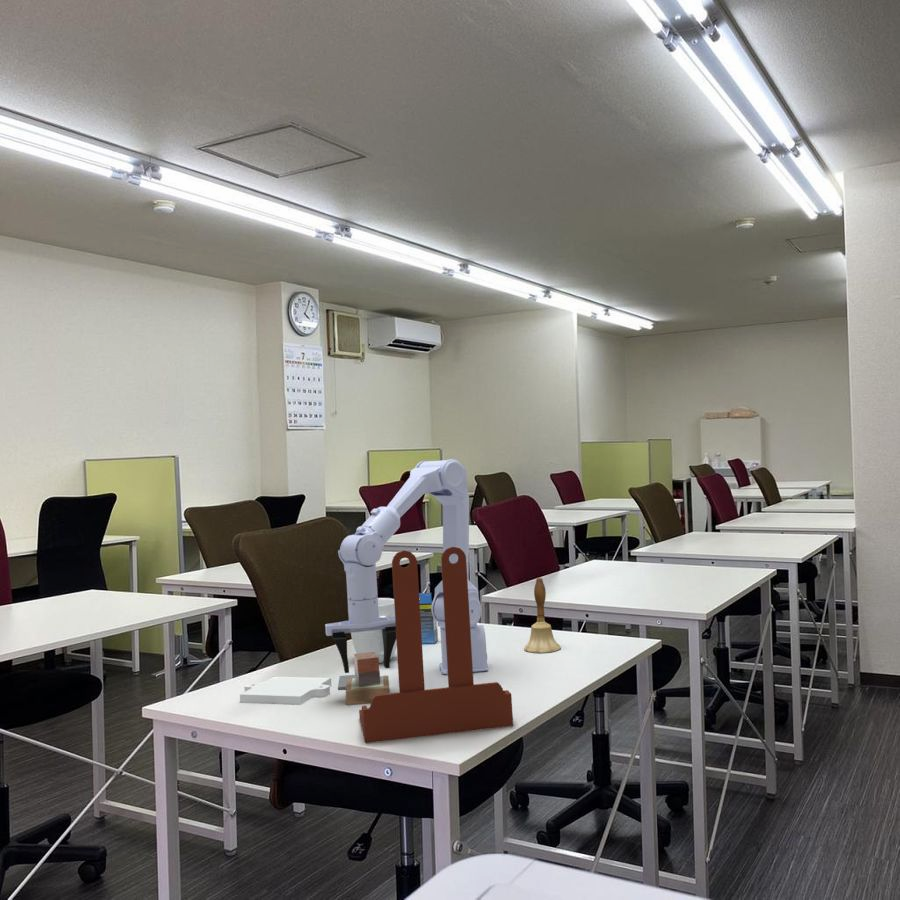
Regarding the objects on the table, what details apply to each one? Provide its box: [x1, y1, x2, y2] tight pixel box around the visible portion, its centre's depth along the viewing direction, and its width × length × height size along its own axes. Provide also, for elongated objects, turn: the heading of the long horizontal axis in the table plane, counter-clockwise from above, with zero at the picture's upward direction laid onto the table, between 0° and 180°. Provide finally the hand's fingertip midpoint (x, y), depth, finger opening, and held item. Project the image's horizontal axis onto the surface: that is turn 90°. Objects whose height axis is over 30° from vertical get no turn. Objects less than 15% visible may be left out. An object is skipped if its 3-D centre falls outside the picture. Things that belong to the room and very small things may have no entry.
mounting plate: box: [239, 676, 332, 706], centre depth 166 cm, size 18×13×2 cm
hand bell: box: [523, 577, 562, 654], centre depth 191 cm, size 8×8×16 cm
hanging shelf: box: [358, 547, 514, 744], centre depth 143 cm, size 24×13×30 cm, turn 100°
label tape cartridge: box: [419, 592, 439, 645], centre depth 206 cm, size 9×4×12 cm, turn 77°
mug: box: [350, 597, 397, 664], centre depth 188 cm, size 15×11×13 cm
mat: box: [337, 674, 355, 691], centre depth 172 cm, size 8×9×1 cm
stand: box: [345, 675, 390, 706], centre depth 161 cm, size 8×9×3 cm
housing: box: [353, 652, 381, 687], centre depth 161 cm, size 4×6×5 cm, turn 14°
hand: (366, 669), depth 161 cm, fingers open, 7 cm apart
